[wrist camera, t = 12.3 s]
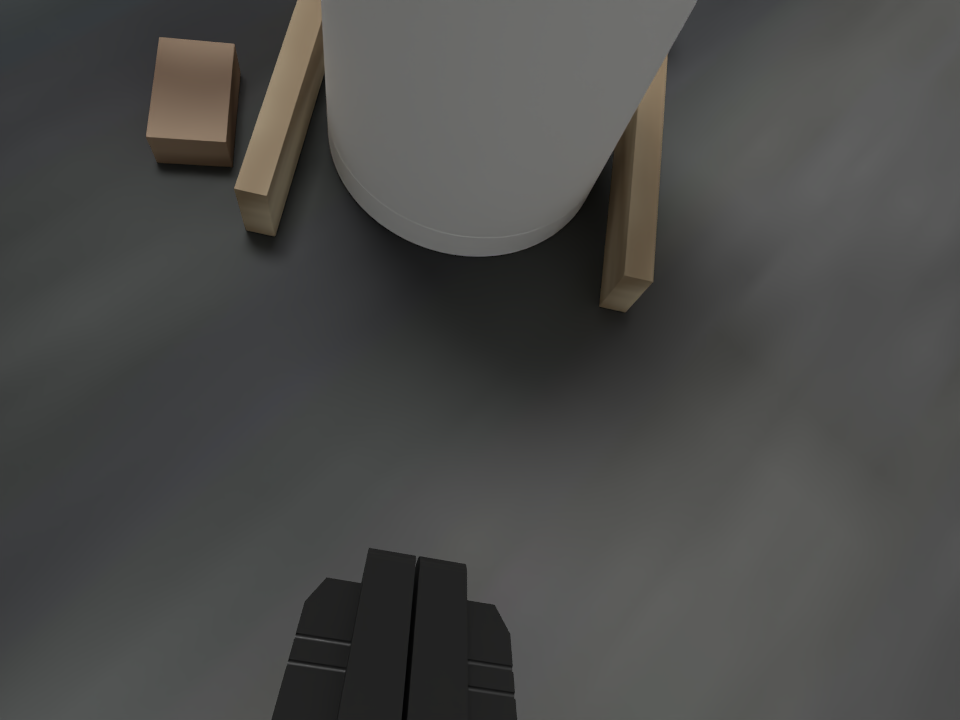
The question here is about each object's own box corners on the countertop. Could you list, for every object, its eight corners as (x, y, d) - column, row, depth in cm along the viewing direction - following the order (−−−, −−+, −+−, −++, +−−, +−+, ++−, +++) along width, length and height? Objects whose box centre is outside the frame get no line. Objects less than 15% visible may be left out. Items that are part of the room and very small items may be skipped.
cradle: (245, 230, 28) (224, 155, 24) (340, -65, 35) (338, -169, 30) (625, 312, 30) (674, 257, 25) (648, 16, 36) (691, -70, 32)
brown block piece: (233, 171, 30) (225, 142, 28) (158, 166, 29) (145, 136, 27) (241, 77, 31) (234, 43, 29) (170, 71, 31) (159, 37, 29)
